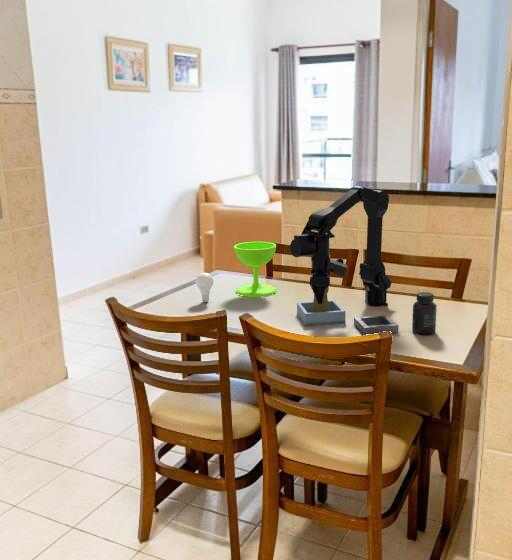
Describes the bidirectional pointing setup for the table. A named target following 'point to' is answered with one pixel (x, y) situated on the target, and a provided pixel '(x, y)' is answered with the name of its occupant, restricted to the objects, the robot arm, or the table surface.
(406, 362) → the table surface
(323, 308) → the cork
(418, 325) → the supplement bottle
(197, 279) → the lightbulb
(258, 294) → the wineglass
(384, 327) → the metal collar
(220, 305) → the table surface
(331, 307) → the plastic tray
